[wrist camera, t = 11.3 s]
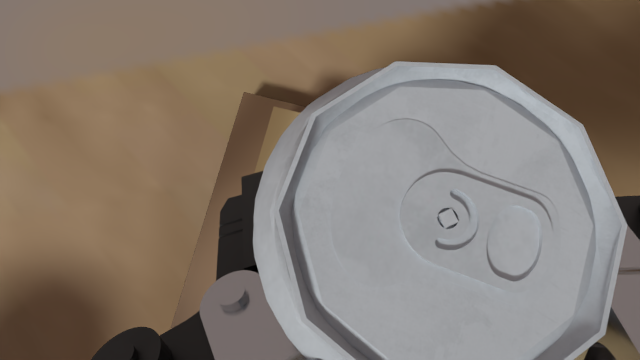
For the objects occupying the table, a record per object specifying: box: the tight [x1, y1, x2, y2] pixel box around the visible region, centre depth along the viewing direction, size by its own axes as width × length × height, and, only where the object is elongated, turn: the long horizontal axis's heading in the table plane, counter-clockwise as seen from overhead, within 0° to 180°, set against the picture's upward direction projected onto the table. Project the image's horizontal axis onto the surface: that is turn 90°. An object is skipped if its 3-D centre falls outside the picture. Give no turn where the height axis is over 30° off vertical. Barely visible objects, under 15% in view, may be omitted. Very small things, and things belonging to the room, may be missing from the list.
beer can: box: [253, 61, 627, 360], centre depth 10 cm, size 5×5×12 cm
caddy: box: [171, 92, 306, 328], centre depth 16 cm, size 14×12×4 cm
